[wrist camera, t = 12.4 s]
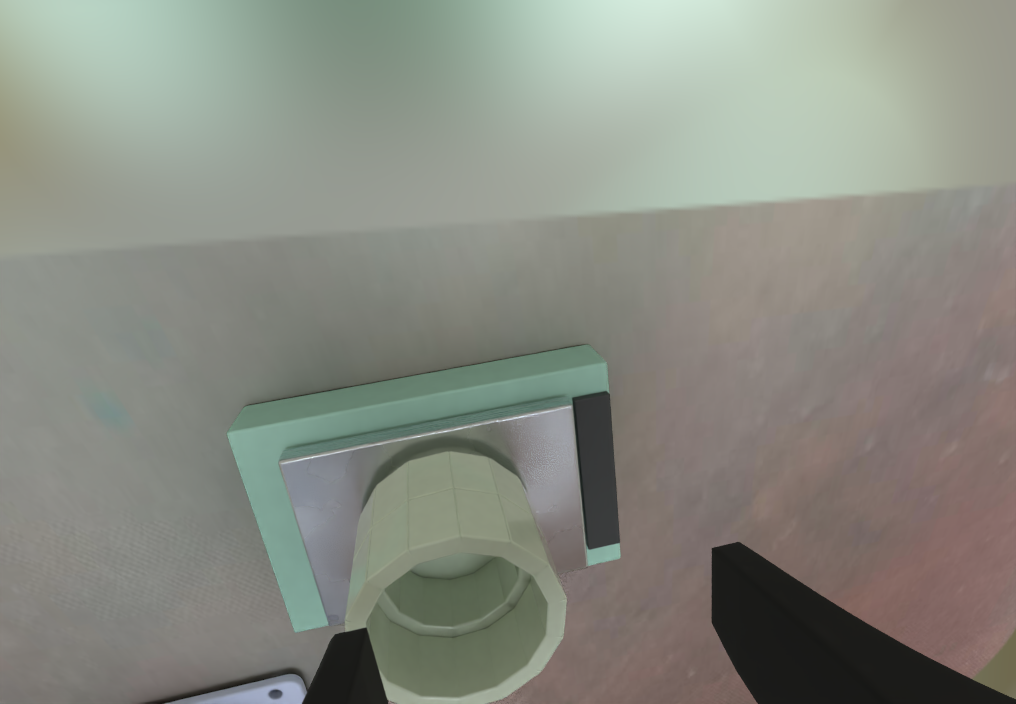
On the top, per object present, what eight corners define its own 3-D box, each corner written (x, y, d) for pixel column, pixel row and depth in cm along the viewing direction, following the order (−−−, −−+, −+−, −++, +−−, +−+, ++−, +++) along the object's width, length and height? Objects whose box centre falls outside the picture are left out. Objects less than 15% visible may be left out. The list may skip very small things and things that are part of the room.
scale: (304, 592, 21) (292, 641, 19) (243, 405, 18) (221, 437, 16) (603, 526, 23) (624, 564, 20) (589, 343, 20) (611, 365, 18)
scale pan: (331, 609, 19) (328, 628, 18) (282, 448, 17) (276, 461, 16) (582, 553, 20) (589, 568, 19) (566, 394, 18) (573, 404, 17)
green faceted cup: (410, 613, 19) (411, 744, 14) (326, 490, 17) (299, 601, 12) (554, 544, 19) (596, 654, 15) (488, 414, 17) (515, 498, 13)
